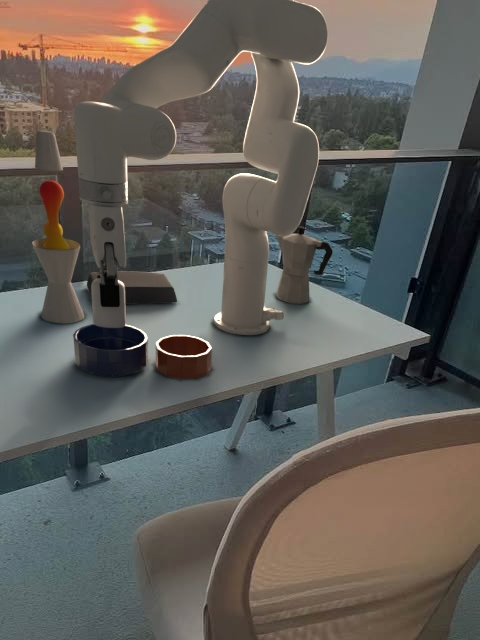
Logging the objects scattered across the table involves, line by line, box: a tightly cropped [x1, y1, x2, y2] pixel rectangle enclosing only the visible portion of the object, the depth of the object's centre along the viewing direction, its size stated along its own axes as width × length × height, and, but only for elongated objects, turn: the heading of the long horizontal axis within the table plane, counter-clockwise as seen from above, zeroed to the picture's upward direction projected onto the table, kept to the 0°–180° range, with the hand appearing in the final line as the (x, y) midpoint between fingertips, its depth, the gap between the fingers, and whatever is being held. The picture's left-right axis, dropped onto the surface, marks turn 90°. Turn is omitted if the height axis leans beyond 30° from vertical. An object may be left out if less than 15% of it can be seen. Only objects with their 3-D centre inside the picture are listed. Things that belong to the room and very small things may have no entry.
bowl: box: [72, 323, 149, 378], centre depth 116 cm, size 13×13×6 cm
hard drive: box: [86, 270, 178, 305], centre depth 147 cm, size 13×19×4 cm
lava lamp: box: [31, 129, 86, 324], centre depth 123 cm, size 9×9×35 cm
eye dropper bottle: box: [91, 262, 127, 328], centre depth 110 cm, size 4×6×12 cm
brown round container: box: [154, 334, 213, 380], centre depth 119 cm, size 10×10×4 cm
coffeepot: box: [274, 225, 333, 305], centre depth 158 cm, size 15×9×18 cm, turn 72°
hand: (108, 300), depth 110 cm, fingers closed on eye dropper bottle, 3 cm apart
